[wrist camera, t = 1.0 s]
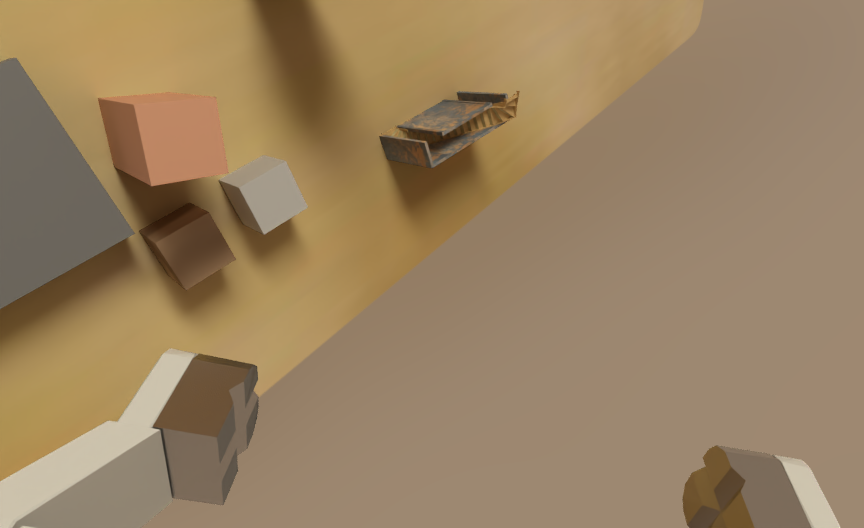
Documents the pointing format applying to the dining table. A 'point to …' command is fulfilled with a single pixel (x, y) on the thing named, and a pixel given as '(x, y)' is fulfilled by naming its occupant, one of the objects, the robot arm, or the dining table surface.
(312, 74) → the dining table surface
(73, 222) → the block
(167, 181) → the terracotta block
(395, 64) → the dining table surface
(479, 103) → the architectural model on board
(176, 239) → the walnut block
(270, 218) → the grey plastic block
